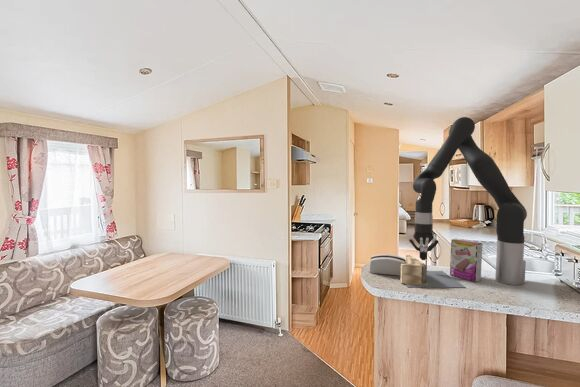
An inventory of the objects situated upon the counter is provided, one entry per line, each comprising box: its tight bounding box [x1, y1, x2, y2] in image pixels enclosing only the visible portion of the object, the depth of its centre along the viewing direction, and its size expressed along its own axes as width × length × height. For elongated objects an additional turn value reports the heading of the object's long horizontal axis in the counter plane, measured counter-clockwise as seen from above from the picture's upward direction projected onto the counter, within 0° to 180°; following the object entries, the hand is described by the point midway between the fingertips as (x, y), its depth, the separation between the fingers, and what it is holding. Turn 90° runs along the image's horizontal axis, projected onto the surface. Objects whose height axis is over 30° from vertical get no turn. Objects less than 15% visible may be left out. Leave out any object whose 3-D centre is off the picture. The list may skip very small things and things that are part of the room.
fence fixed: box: [400, 263, 428, 284], centre depth 127 cm, size 10×2×8 cm, turn 88°
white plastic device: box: [368, 253, 406, 276], centre depth 139 cm, size 17×5×10 cm, turn 69°
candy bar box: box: [449, 237, 483, 283], centre depth 134 cm, size 11×5×16 cm, turn 34°
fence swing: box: [405, 254, 425, 265], centre depth 134 cm, size 13×2×8 cm, turn 6°
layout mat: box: [396, 270, 467, 289], centre depth 133 cm, size 23×20×1 cm
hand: (423, 259), depth 140 cm, fingers closed
